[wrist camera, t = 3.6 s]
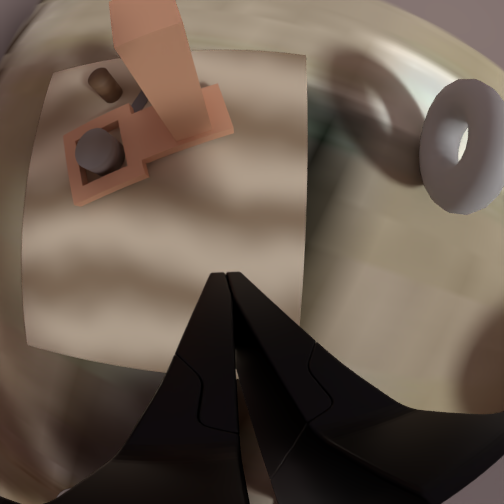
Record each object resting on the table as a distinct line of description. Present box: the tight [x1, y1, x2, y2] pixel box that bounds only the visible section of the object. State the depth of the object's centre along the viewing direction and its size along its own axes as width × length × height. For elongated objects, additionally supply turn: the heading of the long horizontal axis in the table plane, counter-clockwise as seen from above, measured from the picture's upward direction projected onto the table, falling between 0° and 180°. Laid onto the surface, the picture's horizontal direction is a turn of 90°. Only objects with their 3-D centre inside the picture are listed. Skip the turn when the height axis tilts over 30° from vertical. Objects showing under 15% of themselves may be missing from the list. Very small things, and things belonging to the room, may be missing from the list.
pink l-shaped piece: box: [63, 0, 234, 207], centre depth 13 cm, size 12×6×11 cm, turn 108°
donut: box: [419, 79, 504, 215], centre depth 16 cm, size 10×3×10 cm, turn 170°
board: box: [22, 50, 307, 379], centre depth 18 cm, size 24×22×4 cm
